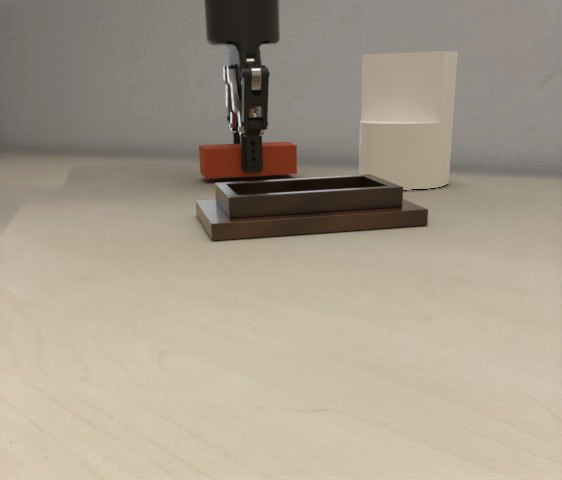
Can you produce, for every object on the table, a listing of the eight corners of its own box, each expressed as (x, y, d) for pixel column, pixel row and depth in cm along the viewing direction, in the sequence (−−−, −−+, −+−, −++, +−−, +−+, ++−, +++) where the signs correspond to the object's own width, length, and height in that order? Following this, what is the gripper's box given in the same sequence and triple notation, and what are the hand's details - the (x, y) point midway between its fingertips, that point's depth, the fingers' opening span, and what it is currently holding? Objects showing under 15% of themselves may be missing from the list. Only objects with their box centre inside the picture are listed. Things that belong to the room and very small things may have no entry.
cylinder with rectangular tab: (463, 180, 72) (473, 51, 67) (424, 193, 65) (432, 50, 60) (385, 175, 77) (390, 54, 72) (341, 186, 70) (343, 54, 65)
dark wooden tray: (212, 241, 49) (209, 201, 48) (196, 215, 58) (194, 181, 57) (427, 225, 52) (429, 188, 51) (381, 203, 61) (382, 171, 60)
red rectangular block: (205, 178, 74) (203, 148, 73) (200, 173, 78) (198, 145, 77) (297, 174, 76) (296, 145, 75) (287, 169, 80) (287, 141, 79)
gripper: (196, -1, 76) (206, 163, 83) (213, -16, 63) (223, 180, 70) (264, -1, 77) (268, 160, 84) (294, -16, 64) (296, 176, 71)
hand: (248, 168), depth 77 cm, fingers closed on red rectangular block, 4 cm apart
